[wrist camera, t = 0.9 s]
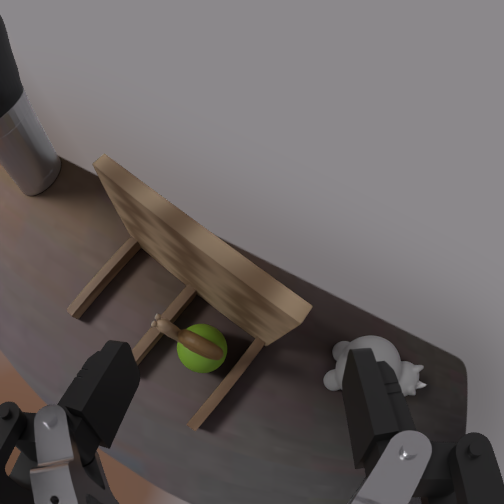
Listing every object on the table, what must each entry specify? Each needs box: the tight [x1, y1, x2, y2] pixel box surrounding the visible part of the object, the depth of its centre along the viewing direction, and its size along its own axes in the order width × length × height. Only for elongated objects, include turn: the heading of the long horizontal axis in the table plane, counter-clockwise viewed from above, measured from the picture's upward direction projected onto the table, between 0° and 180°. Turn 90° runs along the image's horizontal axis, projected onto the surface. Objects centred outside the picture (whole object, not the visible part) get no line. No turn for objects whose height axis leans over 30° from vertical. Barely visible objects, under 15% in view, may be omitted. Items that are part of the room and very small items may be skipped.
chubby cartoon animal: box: [323, 335, 426, 397], centre depth 29 cm, size 8×12×9 cm, turn 66°
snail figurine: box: [151, 314, 227, 373], centre depth 27 cm, size 5×6×12 cm
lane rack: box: [67, 154, 313, 431], centre depth 26 cm, size 22×14×16 cm, turn 54°
